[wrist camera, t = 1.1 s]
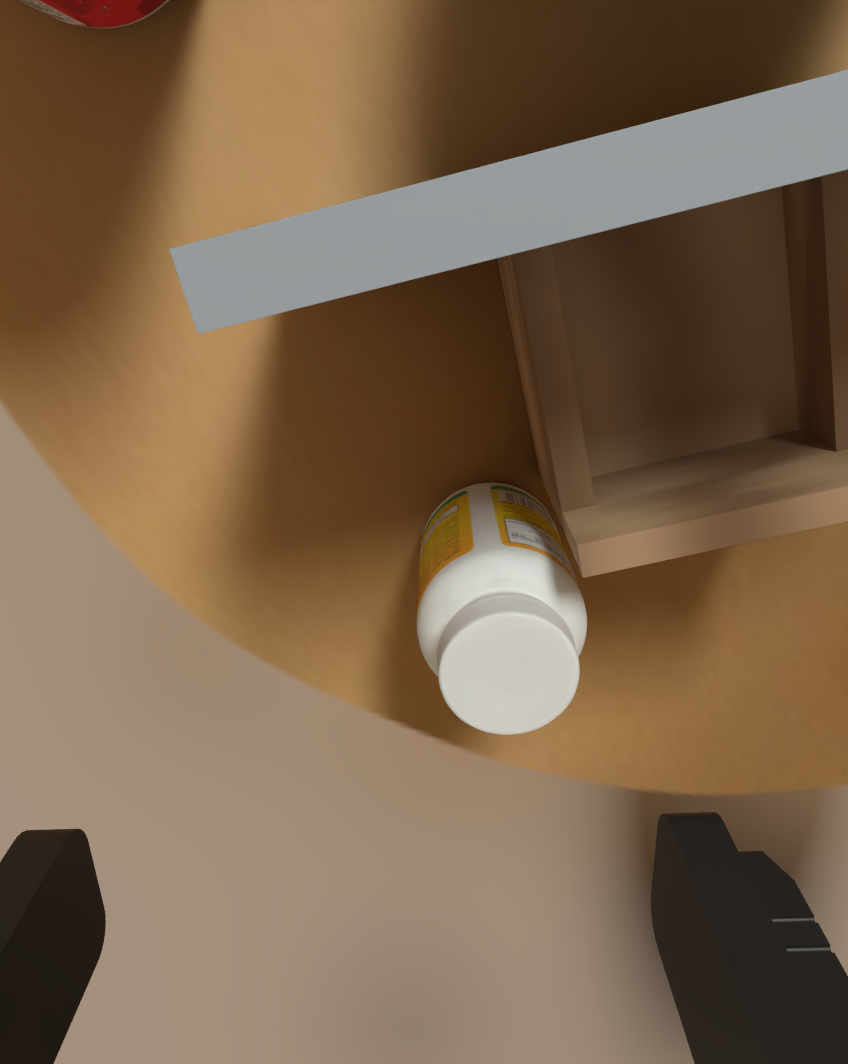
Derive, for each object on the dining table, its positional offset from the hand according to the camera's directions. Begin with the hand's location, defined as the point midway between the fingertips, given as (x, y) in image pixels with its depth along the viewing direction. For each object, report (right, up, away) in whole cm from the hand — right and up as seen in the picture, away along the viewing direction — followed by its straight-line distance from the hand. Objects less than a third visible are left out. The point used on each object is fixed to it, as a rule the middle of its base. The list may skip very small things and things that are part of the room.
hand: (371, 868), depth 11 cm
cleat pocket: (+8, +12, +17) cm, 22 cm away
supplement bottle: (+3, +4, +20) cm, 21 cm away
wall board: (+7, +17, +15) cm, 24 cm away
